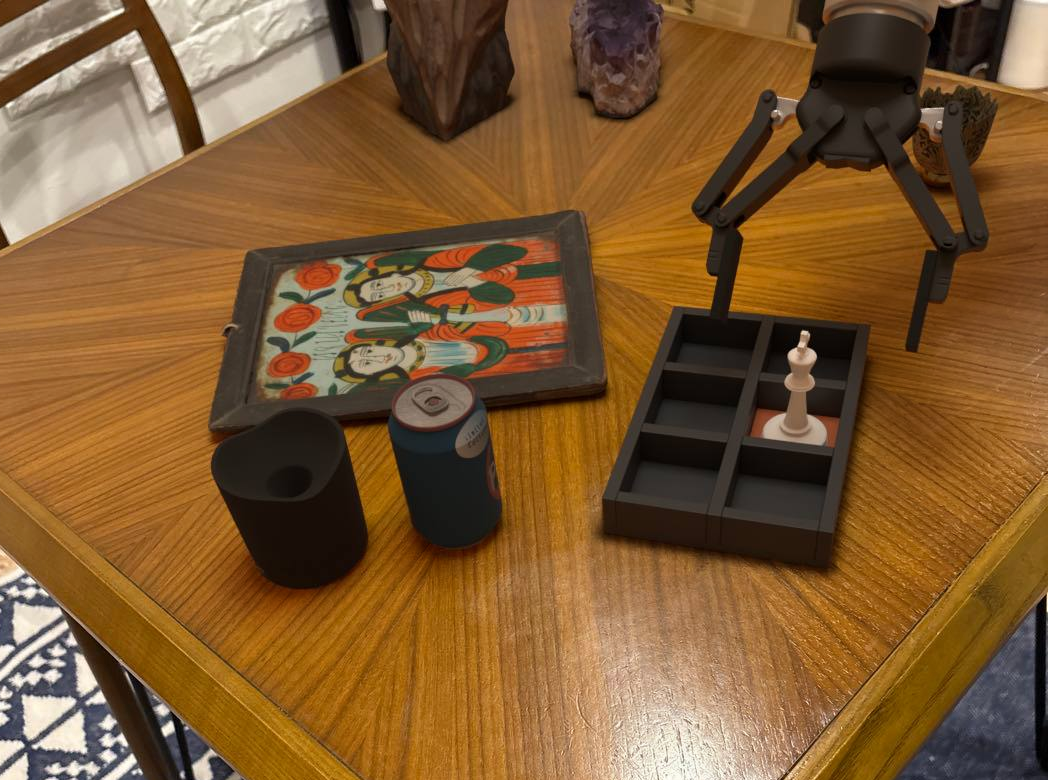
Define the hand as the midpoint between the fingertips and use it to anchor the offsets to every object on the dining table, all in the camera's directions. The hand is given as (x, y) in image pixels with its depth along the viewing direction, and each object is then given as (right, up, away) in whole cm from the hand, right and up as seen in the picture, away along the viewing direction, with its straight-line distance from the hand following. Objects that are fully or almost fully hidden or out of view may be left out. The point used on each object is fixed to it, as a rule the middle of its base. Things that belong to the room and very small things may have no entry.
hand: (811, 336), depth 78 cm
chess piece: (0, -7, +6) cm, 9 cm away
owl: (-28, +36, +52) cm, 69 cm away
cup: (+21, +21, +30) cm, 42 cm away
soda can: (-25, -13, +5) cm, 29 cm away
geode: (-8, +40, +53) cm, 66 cm away
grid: (-3, -7, +8) cm, 11 cm away
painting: (-30, +5, +23) cm, 39 cm away
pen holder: (-36, -15, +5) cm, 40 cm away
